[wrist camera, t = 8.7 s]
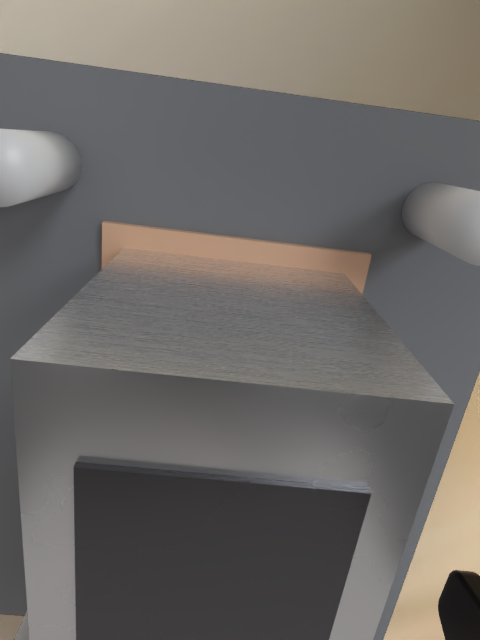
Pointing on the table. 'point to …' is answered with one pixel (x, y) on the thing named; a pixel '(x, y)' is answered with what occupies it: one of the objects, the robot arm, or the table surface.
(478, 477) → the table surface
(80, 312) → the drive
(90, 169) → the tray
